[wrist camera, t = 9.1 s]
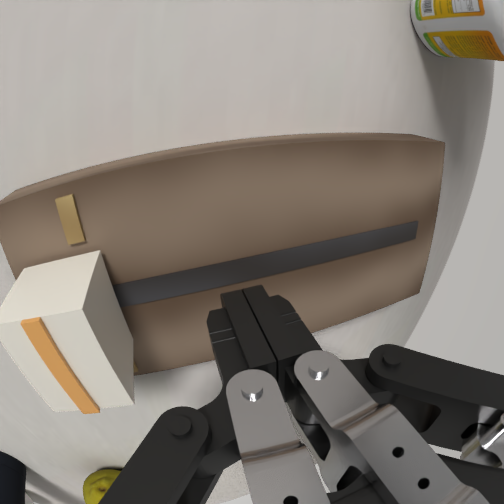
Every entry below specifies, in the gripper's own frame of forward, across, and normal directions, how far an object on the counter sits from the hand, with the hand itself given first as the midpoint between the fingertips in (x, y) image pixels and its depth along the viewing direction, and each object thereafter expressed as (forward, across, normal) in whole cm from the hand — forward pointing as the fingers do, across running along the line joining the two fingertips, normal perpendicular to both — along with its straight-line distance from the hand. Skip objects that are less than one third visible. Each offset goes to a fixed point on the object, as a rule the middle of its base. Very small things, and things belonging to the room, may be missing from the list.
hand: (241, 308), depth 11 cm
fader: (+3, +7, 0) cm, 8 cm away
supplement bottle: (+6, -17, -14) cm, 23 cm away
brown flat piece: (+6, -2, 0) cm, 6 cm away
